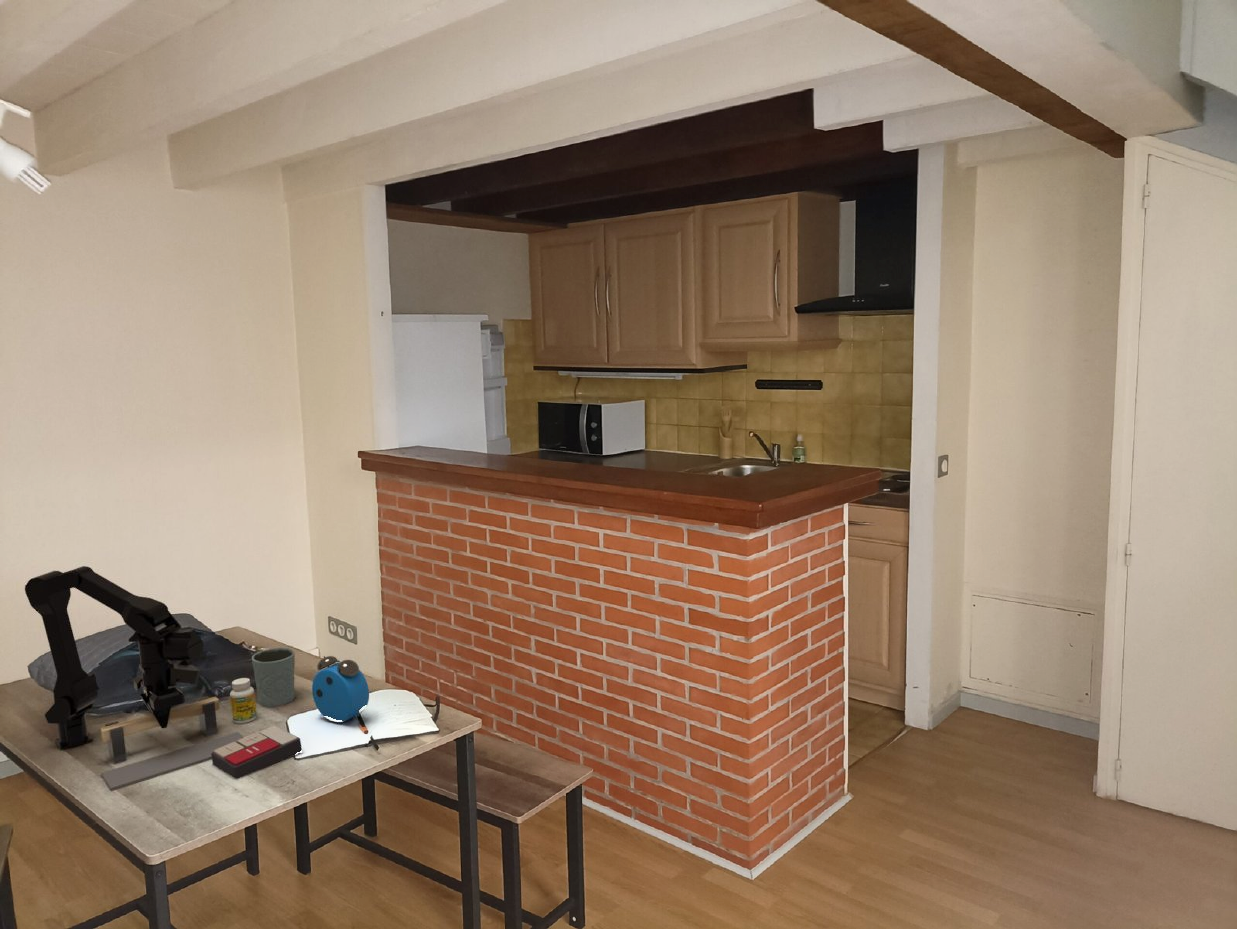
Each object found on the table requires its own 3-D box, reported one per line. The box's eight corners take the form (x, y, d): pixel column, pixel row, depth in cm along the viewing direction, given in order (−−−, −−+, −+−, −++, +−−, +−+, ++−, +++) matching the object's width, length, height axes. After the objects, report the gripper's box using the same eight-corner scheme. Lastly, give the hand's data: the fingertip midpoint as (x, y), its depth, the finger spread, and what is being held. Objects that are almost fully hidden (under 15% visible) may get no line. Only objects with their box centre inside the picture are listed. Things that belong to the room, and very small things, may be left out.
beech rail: (101, 738, 198) (100, 728, 197) (216, 706, 213) (215, 696, 213) (103, 742, 196) (102, 731, 195) (219, 709, 211) (218, 699, 211)
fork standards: (109, 756, 200) (105, 724, 199) (211, 726, 214) (207, 696, 213) (114, 764, 196) (110, 731, 195) (217, 733, 210) (214, 702, 209)
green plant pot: (269, 691, 234) (264, 647, 232) (306, 692, 232) (302, 647, 231) (248, 708, 224) (243, 661, 222) (286, 709, 223) (282, 662, 221)
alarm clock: (372, 719, 215) (367, 658, 213) (352, 729, 209) (347, 667, 207) (332, 709, 221) (327, 650, 219) (312, 719, 216) (307, 658, 214)
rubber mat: (101, 775, 191) (101, 772, 191) (238, 734, 209) (237, 731, 209) (111, 790, 184) (110, 788, 184) (251, 746, 202) (251, 744, 202)
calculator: (209, 749, 194) (275, 722, 205) (212, 768, 195) (277, 739, 206) (233, 764, 187) (300, 735, 198) (236, 783, 188) (303, 753, 199)
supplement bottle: (254, 712, 221) (250, 675, 220) (259, 720, 217) (255, 681, 215) (230, 718, 218) (226, 680, 217) (235, 726, 214) (231, 687, 212)
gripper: (205, 660, 200) (212, 727, 203) (181, 640, 214) (188, 703, 217) (150, 674, 193) (158, 743, 195) (129, 652, 207) (137, 717, 210)
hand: (162, 726), depth 204 cm, fingers closed on beech rail, 2 cm apart
